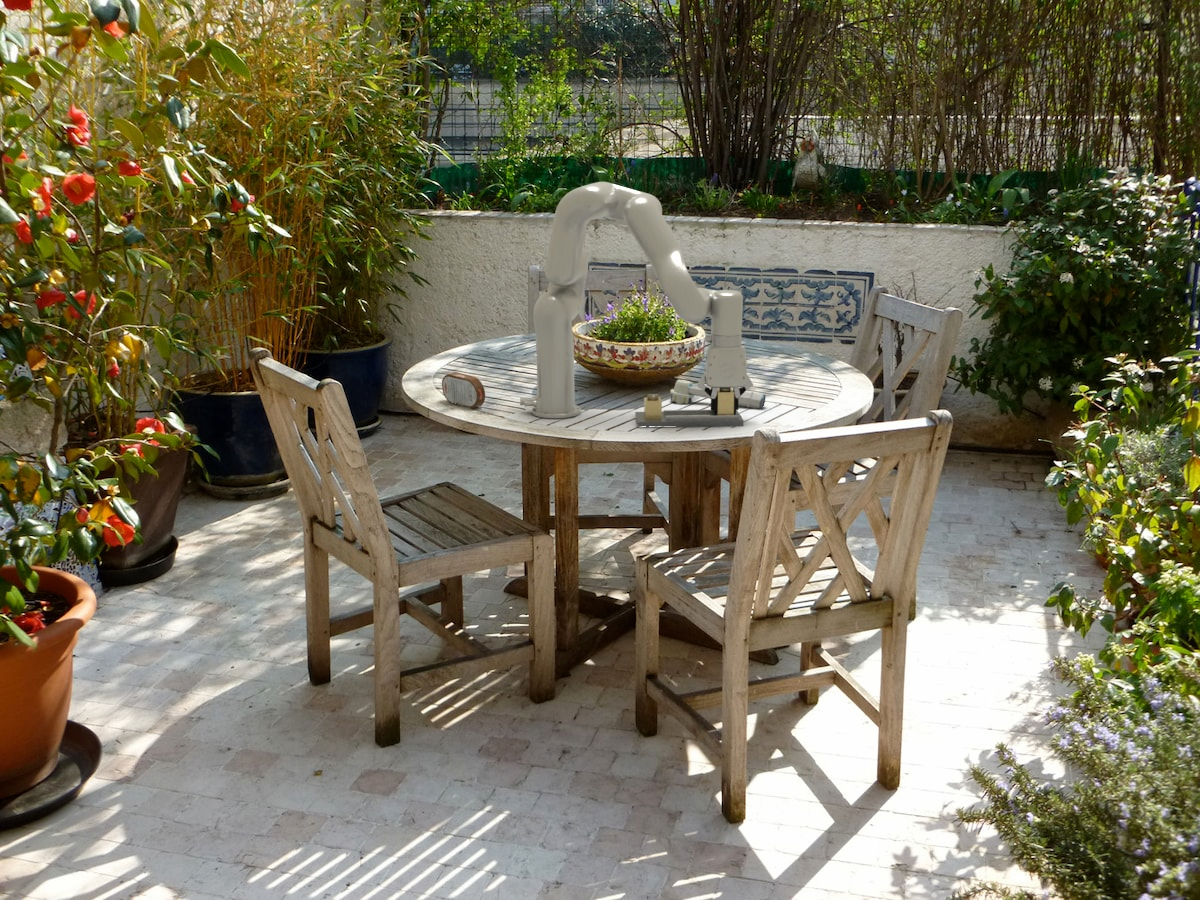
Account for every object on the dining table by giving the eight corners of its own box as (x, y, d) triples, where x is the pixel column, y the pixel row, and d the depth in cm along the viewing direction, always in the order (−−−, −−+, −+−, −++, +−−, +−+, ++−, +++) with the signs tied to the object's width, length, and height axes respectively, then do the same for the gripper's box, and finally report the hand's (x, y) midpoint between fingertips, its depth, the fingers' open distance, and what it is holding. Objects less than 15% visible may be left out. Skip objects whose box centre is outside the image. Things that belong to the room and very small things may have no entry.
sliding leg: (717, 415, 293) (718, 388, 291) (715, 412, 297) (715, 384, 295) (733, 415, 294) (734, 388, 292) (731, 411, 297) (731, 384, 295)
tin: (486, 409, 309) (485, 377, 307) (477, 411, 307) (476, 379, 305) (449, 399, 319) (448, 369, 317) (440, 402, 317) (439, 371, 315)
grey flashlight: (763, 396, 305) (670, 377, 312) (758, 421, 307) (667, 401, 314) (766, 392, 310) (675, 373, 316) (762, 416, 312) (672, 397, 319)
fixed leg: (645, 418, 293) (645, 397, 291) (644, 414, 296) (644, 393, 295) (661, 418, 293) (661, 396, 291) (659, 414, 297) (660, 393, 295)
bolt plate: (638, 427, 290) (638, 418, 289) (635, 417, 300) (635, 408, 299) (743, 426, 291) (743, 417, 291) (736, 415, 301) (737, 407, 300)
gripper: (694, 344, 286) (693, 417, 291) (762, 343, 287) (760, 416, 292) (690, 338, 293) (689, 409, 299) (757, 337, 294) (754, 408, 299)
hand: (724, 412), depth 295 cm, fingers closed on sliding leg, 4 cm apart
